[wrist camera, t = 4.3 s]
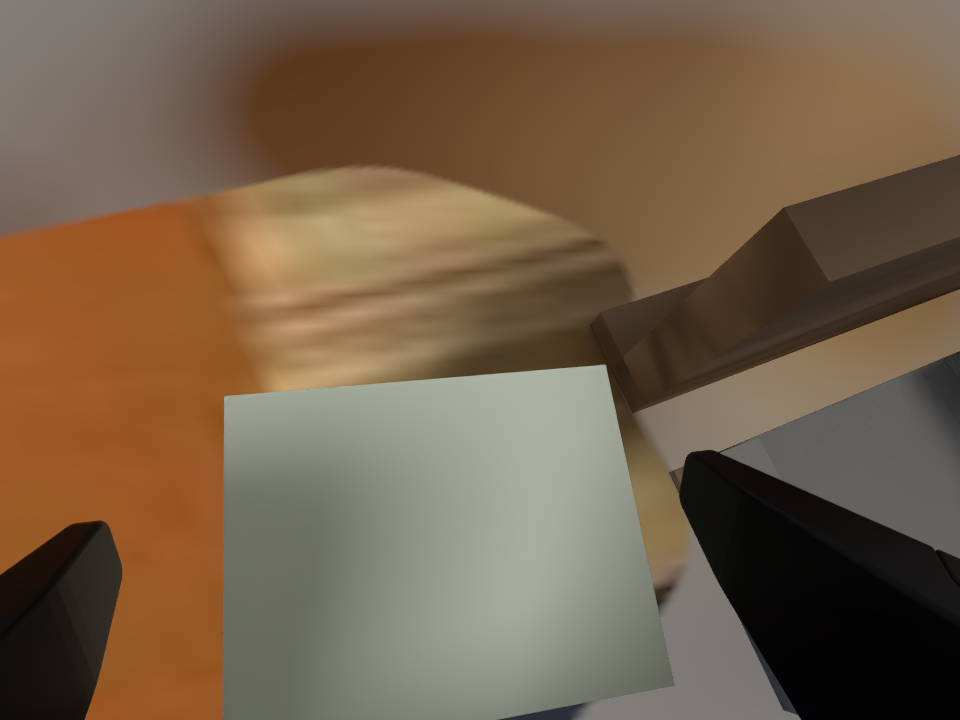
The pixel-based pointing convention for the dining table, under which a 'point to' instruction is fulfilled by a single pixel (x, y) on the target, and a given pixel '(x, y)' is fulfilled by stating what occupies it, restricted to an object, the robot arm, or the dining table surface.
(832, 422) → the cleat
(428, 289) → the dining table surface
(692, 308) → the wall board
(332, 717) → the sage green block
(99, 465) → the dining table surface
